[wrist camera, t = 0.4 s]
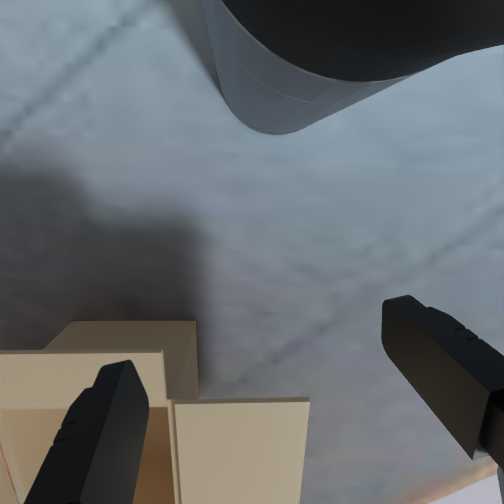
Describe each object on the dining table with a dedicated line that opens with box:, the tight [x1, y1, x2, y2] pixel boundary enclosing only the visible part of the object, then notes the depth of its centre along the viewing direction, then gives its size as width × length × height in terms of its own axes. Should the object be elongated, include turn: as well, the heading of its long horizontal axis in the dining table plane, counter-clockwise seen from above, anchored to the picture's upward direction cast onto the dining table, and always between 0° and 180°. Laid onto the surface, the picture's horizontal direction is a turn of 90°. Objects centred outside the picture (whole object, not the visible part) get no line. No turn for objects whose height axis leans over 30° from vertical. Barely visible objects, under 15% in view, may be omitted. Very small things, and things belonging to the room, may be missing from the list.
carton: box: [0, 321, 310, 504], centre depth 27 cm, size 26×21×10 cm
